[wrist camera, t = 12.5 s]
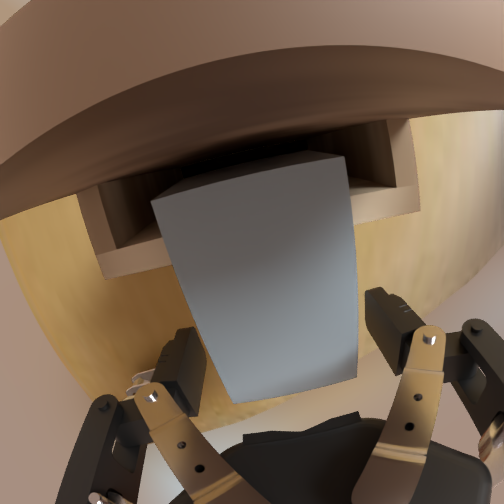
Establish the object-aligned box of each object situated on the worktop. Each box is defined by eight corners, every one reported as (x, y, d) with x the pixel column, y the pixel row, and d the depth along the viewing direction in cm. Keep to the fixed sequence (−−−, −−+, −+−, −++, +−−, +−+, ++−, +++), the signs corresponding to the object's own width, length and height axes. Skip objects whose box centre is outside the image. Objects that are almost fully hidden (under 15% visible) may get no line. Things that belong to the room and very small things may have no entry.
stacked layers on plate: (163, 326, 26) (148, 362, 20) (226, 376, 28) (224, 414, 23) (115, 367, 28) (99, 399, 22) (172, 407, 30) (164, 440, 25)
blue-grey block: (286, 147, 16) (344, 156, 7) (311, 283, 20) (356, 387, 11) (200, 167, 16) (150, 201, 7) (238, 299, 20) (238, 412, 11)
